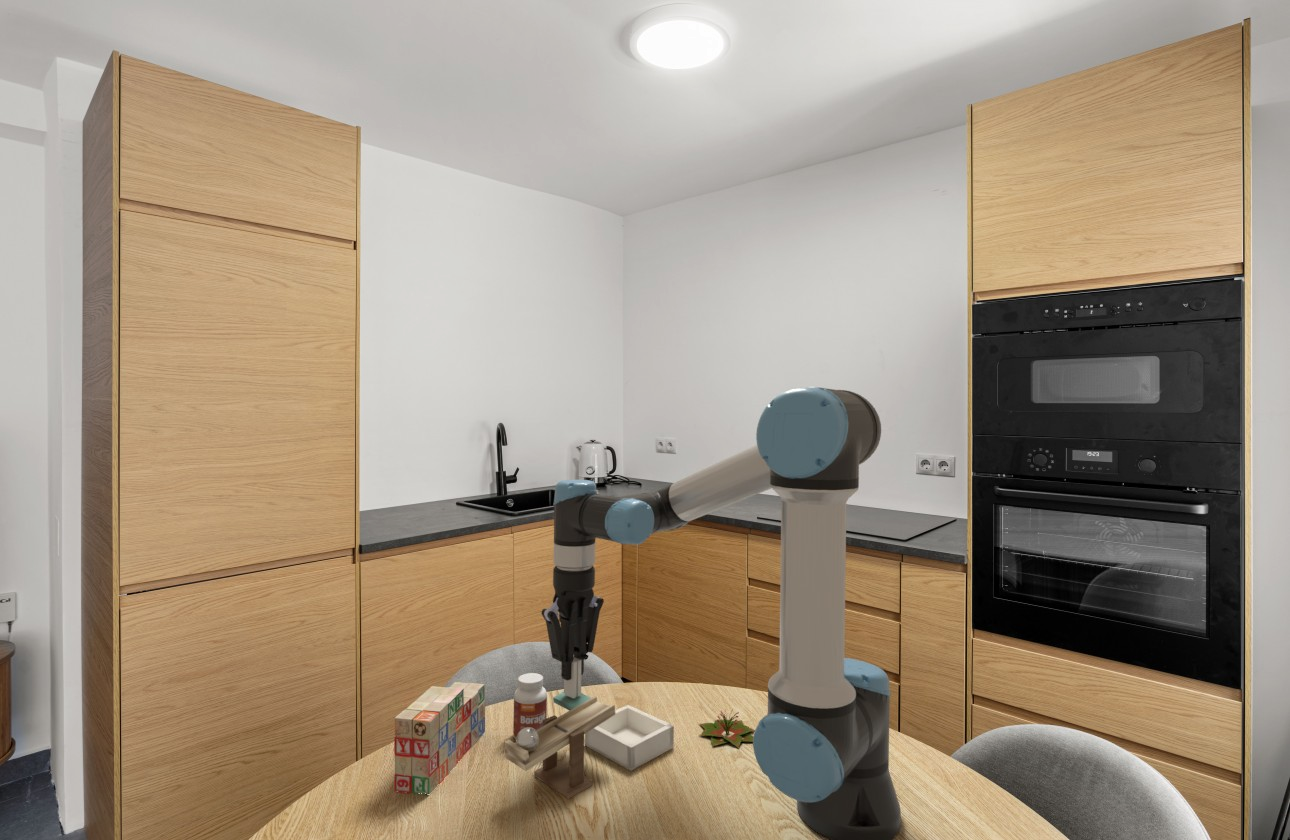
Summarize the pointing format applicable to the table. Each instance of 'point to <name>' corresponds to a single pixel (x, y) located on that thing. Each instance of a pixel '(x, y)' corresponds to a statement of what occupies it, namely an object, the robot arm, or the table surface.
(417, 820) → the table surface
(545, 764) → the fulcrum
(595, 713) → the lever
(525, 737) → the ball
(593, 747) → the white square tray
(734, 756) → the table surface
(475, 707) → the stack of blocks
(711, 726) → the lily flower
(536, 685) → the pill bottle
